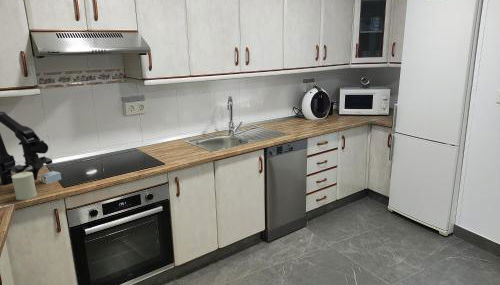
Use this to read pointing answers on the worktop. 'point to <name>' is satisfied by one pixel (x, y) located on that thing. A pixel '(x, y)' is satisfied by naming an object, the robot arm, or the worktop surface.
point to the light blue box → (50, 177)
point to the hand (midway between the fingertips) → (35, 180)
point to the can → (24, 185)
